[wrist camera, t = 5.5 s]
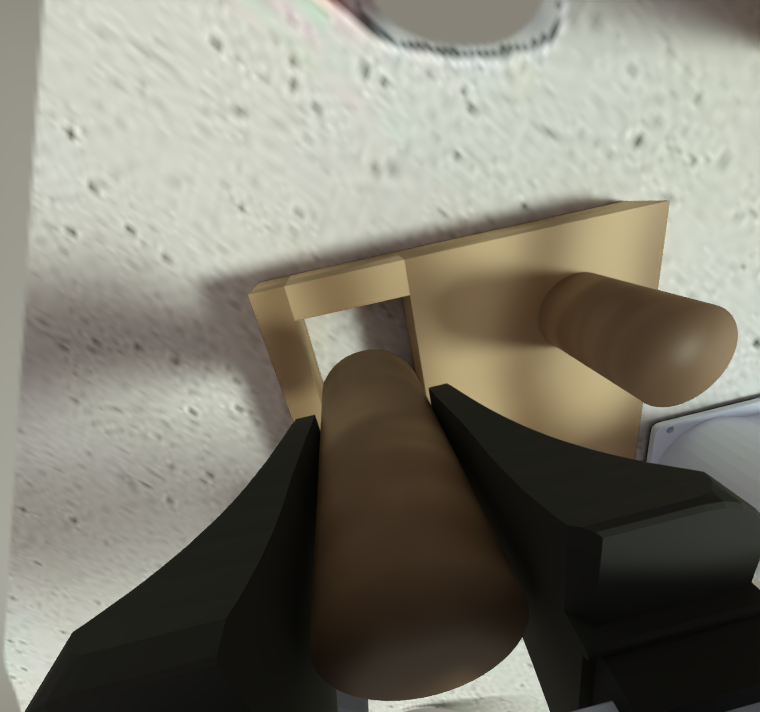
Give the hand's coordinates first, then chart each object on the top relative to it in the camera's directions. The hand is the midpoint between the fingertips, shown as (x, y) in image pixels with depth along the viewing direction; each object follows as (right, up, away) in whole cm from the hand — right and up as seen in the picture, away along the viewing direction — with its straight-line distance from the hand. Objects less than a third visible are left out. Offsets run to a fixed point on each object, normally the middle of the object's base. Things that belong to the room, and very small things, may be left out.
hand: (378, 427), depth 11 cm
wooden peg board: (+5, 0, +9) cm, 11 cm away
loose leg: (0, +1, +2) cm, 2 cm away
